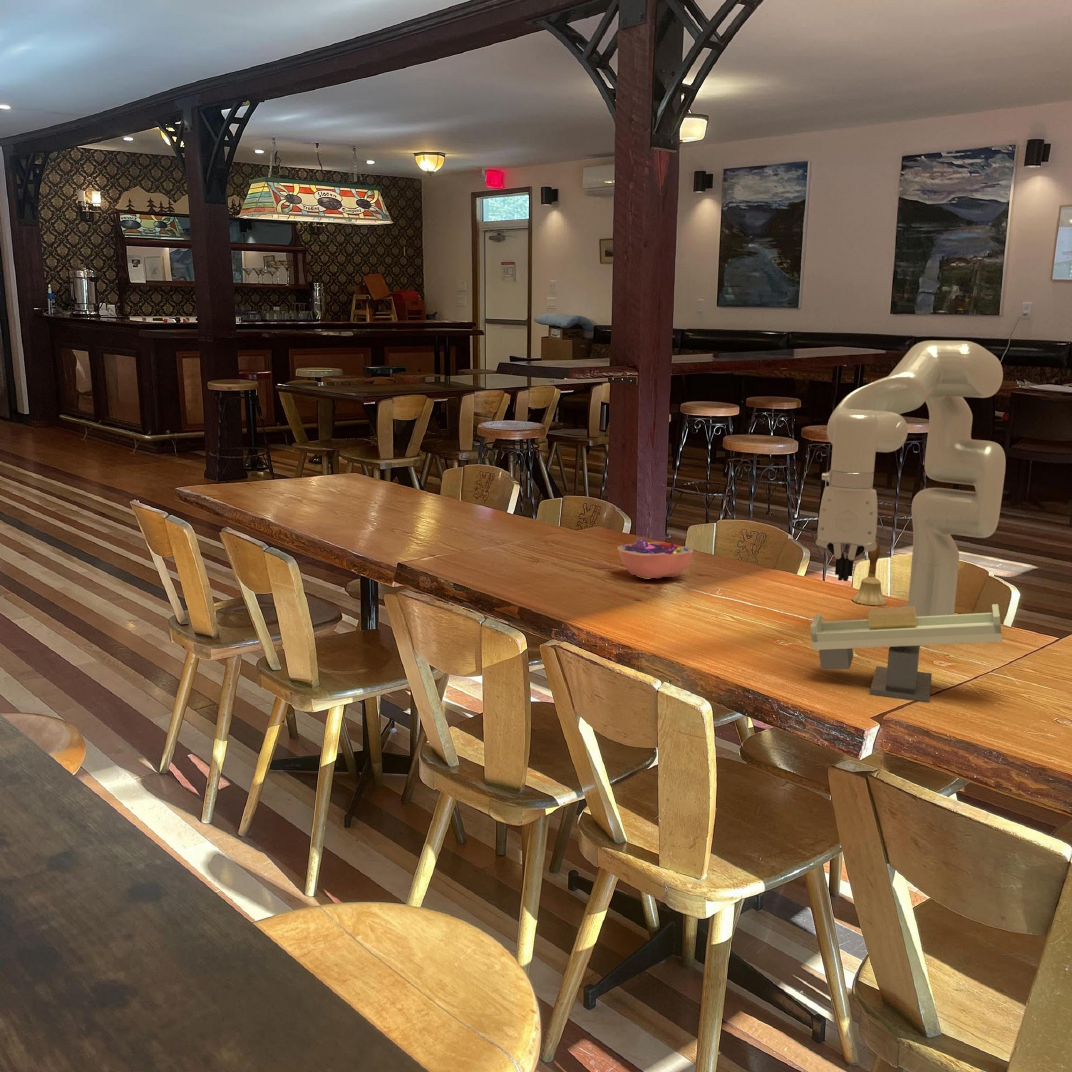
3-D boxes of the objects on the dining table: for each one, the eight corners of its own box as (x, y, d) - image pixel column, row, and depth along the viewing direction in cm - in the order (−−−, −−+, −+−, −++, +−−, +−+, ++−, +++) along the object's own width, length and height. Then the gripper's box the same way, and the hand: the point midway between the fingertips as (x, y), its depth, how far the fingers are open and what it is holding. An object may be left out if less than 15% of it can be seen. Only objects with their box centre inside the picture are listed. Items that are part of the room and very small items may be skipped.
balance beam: (815, 670, 187) (810, 626, 186) (821, 657, 195) (816, 614, 194) (1004, 664, 174) (999, 616, 173) (1002, 649, 182) (997, 604, 181)
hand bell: (879, 597, 250) (884, 534, 247) (892, 606, 242) (897, 541, 239) (846, 597, 250) (851, 534, 247) (858, 606, 242) (863, 541, 239)
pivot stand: (870, 694, 181) (873, 651, 180) (875, 671, 194) (879, 631, 192) (929, 702, 177) (933, 658, 176) (931, 678, 190) (935, 637, 189)
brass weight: (870, 636, 184) (867, 615, 183) (872, 629, 188) (869, 608, 188) (916, 634, 181) (914, 612, 180) (917, 627, 185) (915, 606, 185)
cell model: (696, 587, 259) (698, 544, 257) (618, 585, 259) (619, 542, 257) (687, 572, 275) (689, 531, 273) (614, 570, 276) (616, 530, 273)
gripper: (806, 480, 182) (799, 579, 185) (893, 486, 176) (884, 588, 180) (811, 476, 189) (804, 571, 192) (895, 481, 183) (887, 579, 186)
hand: (843, 579), depth 186 cm, fingers closed
